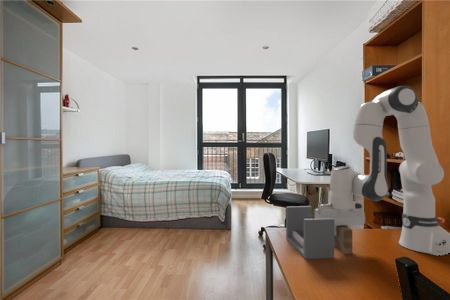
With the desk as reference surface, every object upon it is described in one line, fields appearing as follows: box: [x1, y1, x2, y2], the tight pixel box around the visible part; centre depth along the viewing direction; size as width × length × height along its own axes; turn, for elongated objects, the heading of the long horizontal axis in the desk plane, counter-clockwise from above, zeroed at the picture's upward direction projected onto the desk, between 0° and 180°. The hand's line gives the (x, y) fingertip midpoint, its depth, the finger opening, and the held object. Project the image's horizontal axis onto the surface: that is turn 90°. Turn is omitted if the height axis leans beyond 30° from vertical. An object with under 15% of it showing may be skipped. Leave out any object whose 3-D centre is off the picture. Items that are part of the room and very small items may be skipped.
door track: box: [285, 205, 335, 260], centre depth 109 cm, size 22×12×16 cm, turn 5°
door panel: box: [334, 226, 353, 255], centre depth 108 cm, size 12×3×10 cm, turn 5°
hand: (340, 235), depth 108 cm, fingers closed on door panel, 3 cm apart
